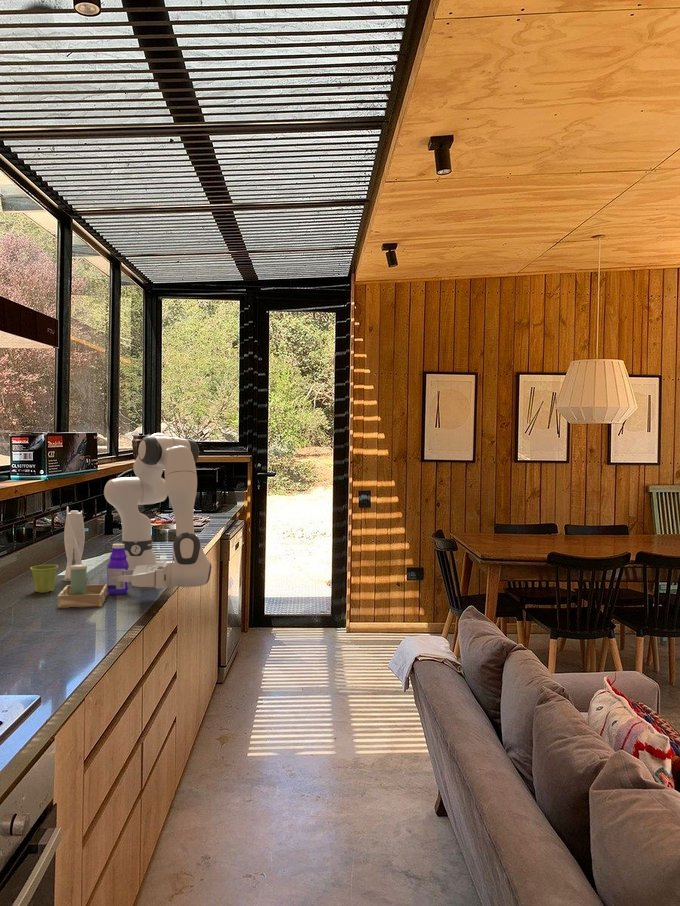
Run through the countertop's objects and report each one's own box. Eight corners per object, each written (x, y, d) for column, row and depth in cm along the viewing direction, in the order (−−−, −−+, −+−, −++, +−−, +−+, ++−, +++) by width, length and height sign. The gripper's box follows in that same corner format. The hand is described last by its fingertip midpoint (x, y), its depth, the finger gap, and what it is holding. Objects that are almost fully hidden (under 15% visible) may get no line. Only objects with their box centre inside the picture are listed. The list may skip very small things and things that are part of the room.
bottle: (130, 591, 278) (130, 542, 277) (126, 595, 272) (126, 545, 271) (109, 591, 277) (109, 542, 277) (105, 595, 272) (105, 545, 271)
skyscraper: (57, 580, 298) (57, 506, 297) (74, 577, 305) (74, 505, 304) (73, 582, 294) (73, 508, 293) (89, 579, 301) (90, 506, 301)
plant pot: (28, 594, 272) (28, 569, 272) (31, 589, 281) (31, 565, 281) (57, 593, 274) (57, 568, 274) (59, 588, 284) (59, 564, 283)
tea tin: (71, 601, 259) (71, 564, 259) (88, 600, 260) (87, 564, 260) (69, 604, 254) (68, 567, 254) (86, 604, 255) (85, 567, 254)
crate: (66, 596, 268) (66, 585, 268) (107, 595, 271) (107, 584, 271) (57, 608, 251) (57, 595, 251) (101, 606, 254) (101, 594, 254)
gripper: (163, 560, 272) (122, 561, 269) (160, 570, 251) (116, 571, 249) (163, 578, 272) (122, 579, 269) (160, 589, 252) (116, 591, 249)
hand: (119, 575), depth 259 cm, fingers open, 8 cm apart
